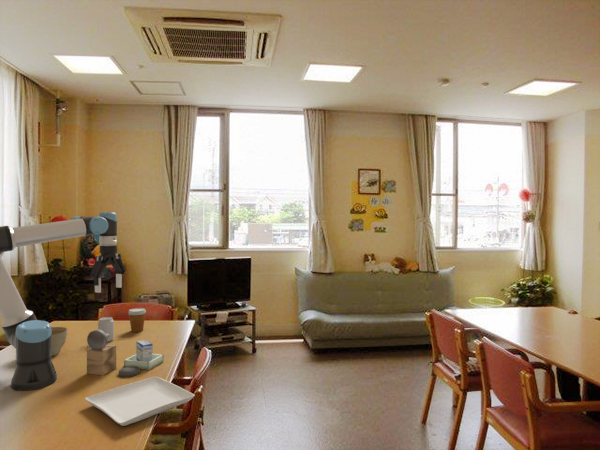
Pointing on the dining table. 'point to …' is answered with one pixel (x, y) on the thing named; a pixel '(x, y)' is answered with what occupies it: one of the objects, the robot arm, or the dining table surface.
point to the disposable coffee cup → (137, 319)
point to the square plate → (139, 400)
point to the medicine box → (144, 351)
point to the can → (107, 327)
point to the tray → (144, 365)
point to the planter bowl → (58, 339)
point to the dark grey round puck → (129, 371)
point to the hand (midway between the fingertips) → (108, 289)
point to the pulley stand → (100, 353)
